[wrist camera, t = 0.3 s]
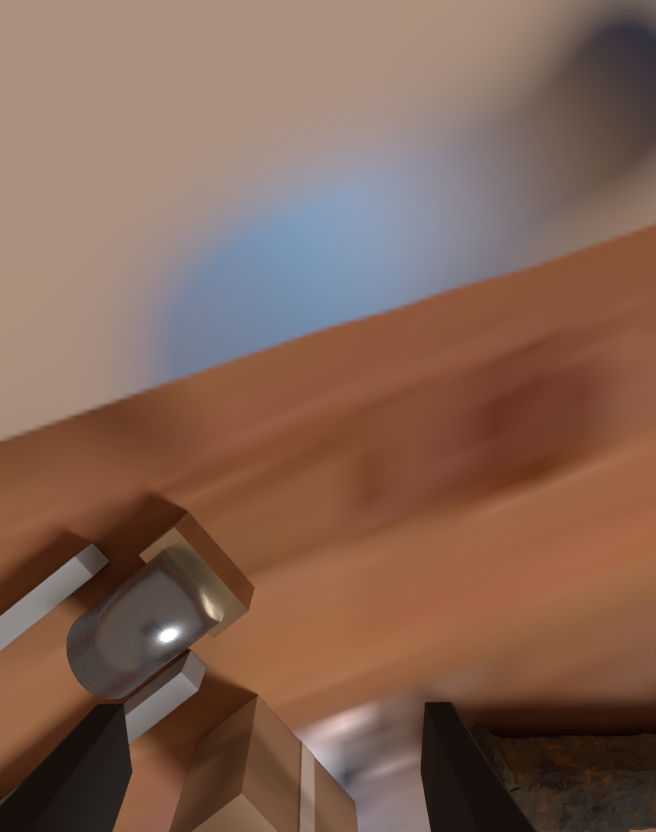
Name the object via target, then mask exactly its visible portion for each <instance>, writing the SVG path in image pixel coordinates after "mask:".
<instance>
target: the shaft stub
mask: <svg viewBox="0 0 656 832" xmlns="http://www.w3.org/2000/svg"><path fill="white" fill-rule="evenodd" d="M139 556H140V557H141V558H142V559H143V560H144V561H145V563H146V564H145V565H144V566H142V567H141V568H140V569H139V570H137V571H136V572H135V573H134V574H132V575H131V576H130V577H129V578H127V579H126V580H125V581H124V582H122V583H121V584H120V585H119V586H117V587H116V588H115V589H114V590H112V591H111V592H110V593H109V594H107V595H106V596H105V597H104V598H102V599H101V600H100V601H99V602H97V603H96V604H95V605H94V606H92V607H91V608H90V609H89V610H87V611H86V612H85V613H84V614H82V615H81V616H80V617H79V618H78V619H76V621H75V622H74V623H73V625H72V626H71V628H70V631H69V633H68V637H67V657H68V661H69V665H70V667H71V670H72V672H73V674H74V676H75V677H76V679H77V680H78V681H79V683H80V684H81V685H82V686H83V687H84V688H85V689H86V690H87V691H89V692H90V693H92V694H93V695H95V696H97V697H100V698H103V699H108V700H115V699H120V698H123V697H125V696H127V695H128V694H130V693H131V692H132V691H133V690H135V689H136V688H137V687H138V686H140V685H141V684H142V683H144V682H145V681H146V680H147V679H149V678H150V677H151V676H152V675H154V674H155V673H156V672H158V671H159V670H160V669H161V668H163V667H164V666H165V665H166V664H168V663H169V662H170V661H171V660H173V659H174V658H175V657H177V656H178V655H179V654H180V653H182V652H183V651H184V650H185V649H187V648H188V647H189V646H191V645H192V644H193V643H194V642H196V641H197V640H198V639H199V638H201V637H202V636H203V635H205V634H206V633H207V632H209V634H210V635H211V636H212V637H213V638H215V637H216V636H217V635H218V634H220V633H221V632H222V631H223V630H225V629H226V628H227V627H229V626H230V625H231V624H232V623H234V622H235V621H236V620H237V619H239V618H240V617H241V616H243V615H244V614H245V613H246V612H248V611H249V607H250V603H251V599H252V596H253V592H254V587H253V585H252V584H251V583H250V582H249V581H248V580H247V579H246V577H245V576H244V575H243V574H242V573H241V572H240V571H239V569H238V568H237V567H236V566H235V565H234V564H233V563H232V561H231V560H230V559H229V558H228V557H227V556H226V555H225V553H224V552H223V551H222V550H221V549H220V548H219V547H218V545H217V544H216V543H215V542H214V541H213V540H212V539H211V537H210V536H209V535H208V534H207V533H206V532H205V531H204V529H203V528H202V527H201V526H200V525H199V524H198V522H197V521H196V520H195V519H194V518H193V517H192V516H191V514H190V513H189V512H187V513H186V514H184V515H183V516H182V517H181V518H179V519H178V520H177V521H176V522H174V523H173V524H172V525H171V526H169V527H168V528H167V529H166V530H164V531H163V532H162V533H161V534H159V535H158V536H157V537H156V538H155V539H154V540H153V541H152V542H151V543H150V544H149V545H148V546H147V547H146V548H145V549H144V550H143V551H142V552H141V553H140V554H139Z"/></svg>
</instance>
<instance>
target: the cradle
mask: <svg viewBox="0 0 656 832" xmlns="http://www.w3.org/2000/svg"><path fill="white" fill-rule="evenodd" d="M108 562H109V560H108V559H107V558H106V557H105V556H104V555H103V554H102V553H101V551H100V550H99V549H98V548H97V547H96V546H95V545H94V544H93V543H92V544H90V545H89V546H88V547H86V548H85V549H84V550H82V551H81V552H80V553H78V554H77V555H76V556H75V557H73V558H72V559H71V560H70V561H68V562H67V563H66V564H65V565H63V566H62V567H61V568H60V569H58V570H57V571H56V572H55V573H53V574H52V575H51V576H50V577H48V578H47V579H46V580H45V581H43V582H42V583H41V584H40V585H38V586H37V587H36V588H35V589H33V590H32V591H31V592H30V593H29V594H27V595H26V596H25V597H24V598H22V599H21V600H20V601H19V602H17V603H16V604H15V605H14V606H12V607H11V608H10V609H9V610H7V611H6V612H5V613H4V614H2V615H1V616H0V650H2V649H3V648H4V647H5V646H7V645H8V644H9V643H10V642H12V641H13V640H14V639H15V638H17V637H18V636H19V635H20V634H22V633H23V632H24V631H25V630H27V629H28V628H29V627H30V626H32V625H33V624H34V623H35V622H37V621H38V620H39V619H40V618H42V617H43V616H44V615H45V614H47V613H48V612H49V611H50V610H52V609H53V608H54V607H55V606H57V605H58V604H59V603H60V602H62V601H63V600H64V599H65V598H67V597H68V596H69V595H70V594H72V593H73V592H74V591H75V590H77V589H78V588H79V587H80V586H82V585H83V584H84V583H85V582H87V581H88V580H89V579H90V578H92V577H93V576H94V575H95V574H96V573H97V572H98V571H99V570H100V569H102V568H103V567H104V566H105V565H106V564H107V563H108ZM205 671H206V666H205V665H204V664H203V663H202V662H201V661H200V660H199V659H198V658H197V657H196V655H195V654H194V653H193V652H192V651H190V652H188V653H187V654H186V655H185V656H183V657H182V658H181V659H179V660H178V661H177V662H176V663H174V664H173V665H172V666H171V667H169V668H168V669H167V670H165V671H164V672H163V673H162V674H160V675H159V676H158V677H157V678H155V679H154V680H153V681H151V682H150V683H149V684H148V685H146V686H145V687H144V688H143V689H141V690H140V691H139V692H137V693H136V694H135V695H134V696H132V697H131V698H130V699H129V700H127V701H126V702H125V703H123V704H124V711H125V719H126V727H127V735H128V743H129V744H131V743H132V742H133V741H134V740H136V739H137V738H138V737H140V736H141V735H142V734H143V733H145V732H146V731H147V730H148V729H150V728H151V727H152V726H154V725H155V724H156V723H157V722H159V721H160V720H161V719H163V718H164V717H165V716H166V715H168V714H169V713H170V712H171V711H173V710H174V709H175V708H177V707H178V706H179V705H180V704H182V703H183V702H184V701H186V700H187V699H188V698H189V697H191V696H192V695H193V694H195V693H196V692H197V691H198V690H199V688H200V685H201V682H202V679H203V676H204V674H205ZM20 785H21V784H20ZM20 785H19V786H20ZM19 786H18V787H19ZM18 787H17V788H18ZM17 788H15V789H14V790H13V791H12V792H10V793H9V794H8V795H6V796H5V797H4V798H3V799H1V800H0V805H1V804H2V803H3V802H4V801H5V800H6V799H7V798H8V797H9V796H10V795H11V794H12V793H13V792H14V791H15V790H16V789H17Z"/></svg>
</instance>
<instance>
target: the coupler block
mask: <svg viewBox="0 0 656 832" xmlns="http://www.w3.org/2000/svg"><path fill="white" fill-rule="evenodd" d="M169 832H358V826H357V816H356V806H355V801H354V800H353V799H352V798H351V797H350V796H349V795H348V793H347V792H346V791H345V790H344V789H343V788H342V787H341V786H340V785H339V783H338V782H337V781H336V780H335V779H334V778H333V777H332V776H331V775H330V773H329V772H328V771H327V770H326V769H325V768H324V767H323V766H322V765H321V764H320V762H319V761H318V760H317V759H316V758H315V757H314V754H313V753H312V752H311V751H310V750H309V749H308V748H307V747H306V746H305V744H304V743H303V742H301V741H300V740H299V739H298V738H297V737H296V736H295V735H294V734H293V733H292V731H291V730H290V729H289V728H288V727H287V726H286V725H285V724H284V723H283V722H282V720H281V719H280V718H279V717H278V716H277V715H276V714H275V713H274V712H273V710H272V709H271V708H270V707H269V706H268V705H267V704H266V703H265V702H264V700H263V699H262V698H261V697H260V696H259V695H257V696H255V697H254V698H253V699H252V700H250V701H249V702H248V703H246V704H245V705H244V706H243V707H241V708H240V709H239V710H237V711H236V712H235V713H234V714H232V715H231V716H230V717H228V718H227V719H226V720H225V721H223V722H222V723H221V724H219V725H218V726H217V727H216V728H214V729H213V730H212V731H210V732H209V733H208V734H206V735H205V736H204V737H203V738H201V739H200V740H199V741H197V744H196V747H195V751H194V754H193V757H192V760H191V763H190V767H189V770H188V773H187V776H186V779H185V783H184V786H183V789H182V792H181V795H180V799H179V802H178V805H177V808H176V811H175V815H174V818H173V821H172V824H171V827H170V831H169Z"/></svg>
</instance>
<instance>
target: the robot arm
mask: <svg viewBox="0 0 656 832" xmlns="http://www.w3.org/2000/svg"><path fill="white" fill-rule="evenodd" d="M131 774H132V767H131V759H130V751H129V743H128V735H127V727H126V719H125V711H124V704H98V705H97V706H96V707H95V708H94V709H93V710H92V711H91V712H90V713H89V714H88V715H87V716H86V717H85V718H84V719H83V720H82V721H81V722H80V723H79V724H78V725H77V726H76V727H75V728H74V730H73V731H72V732H71V733H70V734H69V735H68V736H67V737H66V738H65V739H64V740H63V741H62V742H61V743H60V744H59V745H58V746H57V747H56V749H55V750H54V751H53V752H52V753H51V754H50V755H49V756H48V757H47V758H46V759H45V760H44V761H43V762H42V763H41V764H40V765H39V766H38V767H37V768H36V769H35V770H34V771H33V772H32V773H31V775H30V776H29V777H28V778H27V779H26V780H25V781H24V782H23V783H22V784H21V785H20V786H19V787H18V788H17V789H16V790H15V791H14V792H13V793H12V794H11V795H10V796H9V797H8V798H7V799H6V800H5V801H4V802H3V803H2V804H1V805H0V832H112V831H113V828H114V825H115V822H116V820H117V817H118V814H119V811H120V808H121V805H122V802H123V799H124V796H125V793H126V790H127V787H128V784H129V780H130V777H131ZM421 776H422V782H423V788H424V794H425V800H426V806H427V812H428V817H429V823H430V828H431V832H537V831H536V829H535V828H534V827H533V825H532V824H531V823H530V821H529V820H528V818H527V817H526V816H525V814H524V813H523V811H522V810H521V809H520V807H519V806H518V804H517V803H516V801H515V800H514V798H513V797H512V796H511V794H510V793H509V791H508V790H507V788H506V787H505V785H504V784H503V783H502V781H501V780H500V778H499V777H498V775H497V774H496V772H495V771H494V769H493V768H492V766H491V765H490V763H489V762H488V760H487V758H486V757H485V755H484V754H483V752H482V751H481V749H480V748H479V746H478V744H477V743H476V741H475V740H474V738H473V736H472V735H471V733H470V732H469V730H468V728H467V727H466V725H465V723H464V722H463V720H462V718H461V717H460V715H459V713H458V711H457V710H456V708H455V706H454V705H453V704H452V703H451V702H425V712H424V727H423V741H422V756H421Z"/></svg>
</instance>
